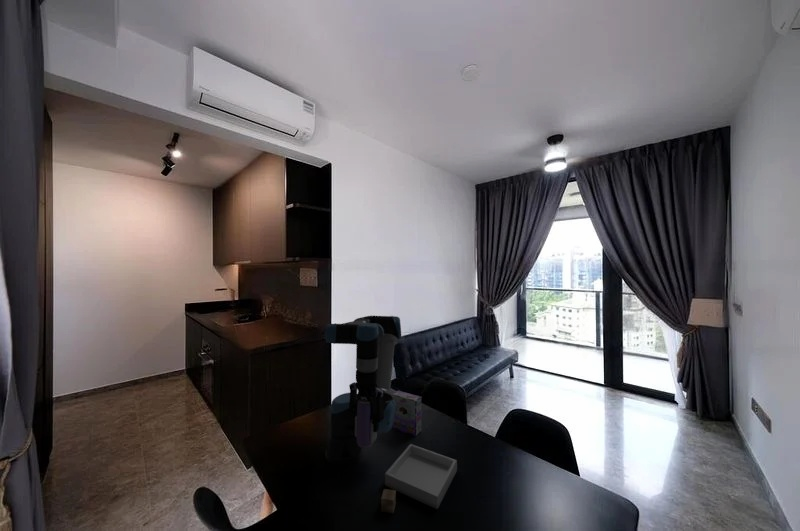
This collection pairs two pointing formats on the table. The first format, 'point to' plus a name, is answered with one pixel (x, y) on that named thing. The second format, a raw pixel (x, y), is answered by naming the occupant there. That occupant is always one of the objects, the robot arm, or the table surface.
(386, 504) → the oak block
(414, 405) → the candy box
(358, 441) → the beverage can
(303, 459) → the table surface
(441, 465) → the bin
